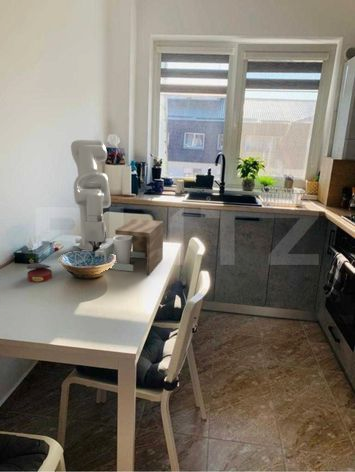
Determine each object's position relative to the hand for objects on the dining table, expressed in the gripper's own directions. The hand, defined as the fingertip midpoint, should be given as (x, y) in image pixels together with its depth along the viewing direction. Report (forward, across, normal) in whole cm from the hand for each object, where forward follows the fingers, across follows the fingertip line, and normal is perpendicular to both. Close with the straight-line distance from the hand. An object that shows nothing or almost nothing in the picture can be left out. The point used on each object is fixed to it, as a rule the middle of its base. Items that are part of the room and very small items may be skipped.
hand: (96, 253), depth 179 cm
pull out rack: (+3, +12, 0) cm, 13 cm away
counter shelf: (+4, +23, 0) cm, 23 cm away
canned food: (+4, -14, -28) cm, 31 cm away
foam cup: (+4, +14, 0) cm, 15 cm away
